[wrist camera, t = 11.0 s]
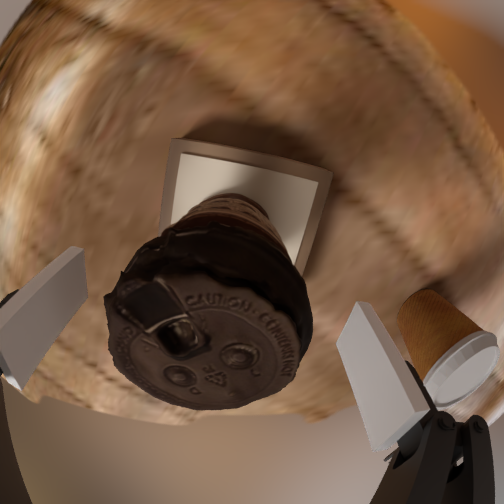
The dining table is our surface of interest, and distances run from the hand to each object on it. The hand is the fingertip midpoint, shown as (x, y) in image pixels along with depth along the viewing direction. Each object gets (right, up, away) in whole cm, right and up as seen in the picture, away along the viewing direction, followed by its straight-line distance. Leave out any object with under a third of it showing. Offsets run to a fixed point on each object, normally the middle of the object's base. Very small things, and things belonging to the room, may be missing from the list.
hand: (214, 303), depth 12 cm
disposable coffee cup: (+22, -5, +16) cm, 27 cm away
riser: (0, +5, +11) cm, 13 cm away
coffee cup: (0, +4, +9) cm, 9 cm away
